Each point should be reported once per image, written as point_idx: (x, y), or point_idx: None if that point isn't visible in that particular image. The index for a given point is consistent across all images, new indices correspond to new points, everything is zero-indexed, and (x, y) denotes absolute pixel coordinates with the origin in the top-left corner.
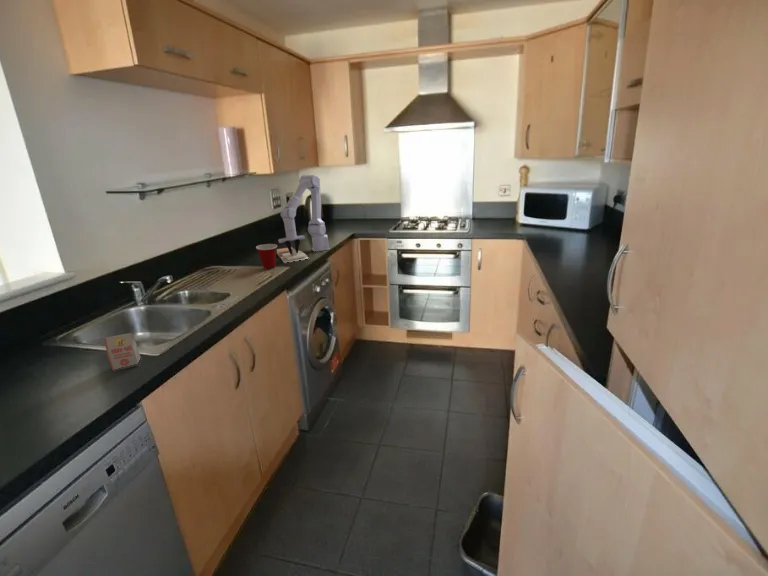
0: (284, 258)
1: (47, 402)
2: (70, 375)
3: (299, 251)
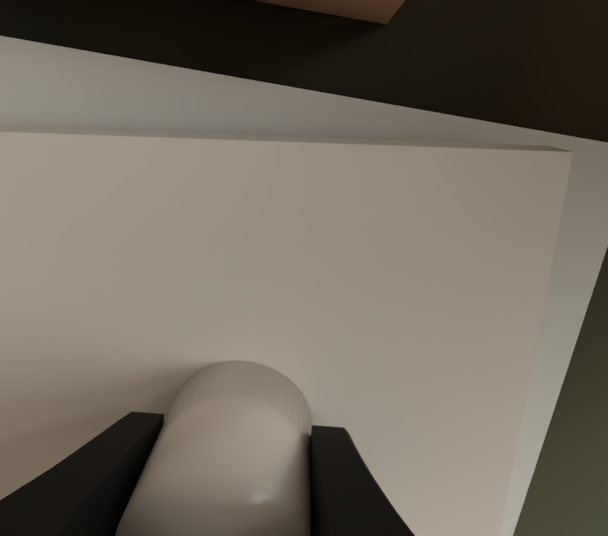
0: None
1: None
2: None
3: (499, 240)
